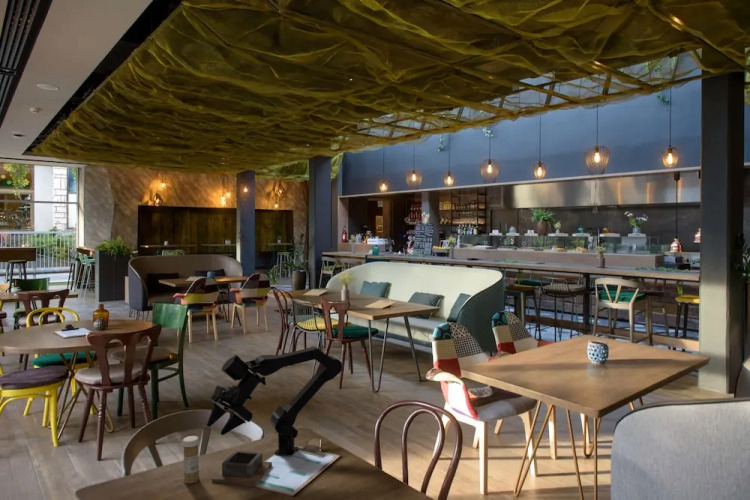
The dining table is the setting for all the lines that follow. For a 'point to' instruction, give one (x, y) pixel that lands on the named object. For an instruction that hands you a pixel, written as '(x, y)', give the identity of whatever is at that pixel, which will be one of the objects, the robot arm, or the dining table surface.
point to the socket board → (242, 469)
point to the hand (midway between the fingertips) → (214, 430)
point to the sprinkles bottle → (191, 459)
